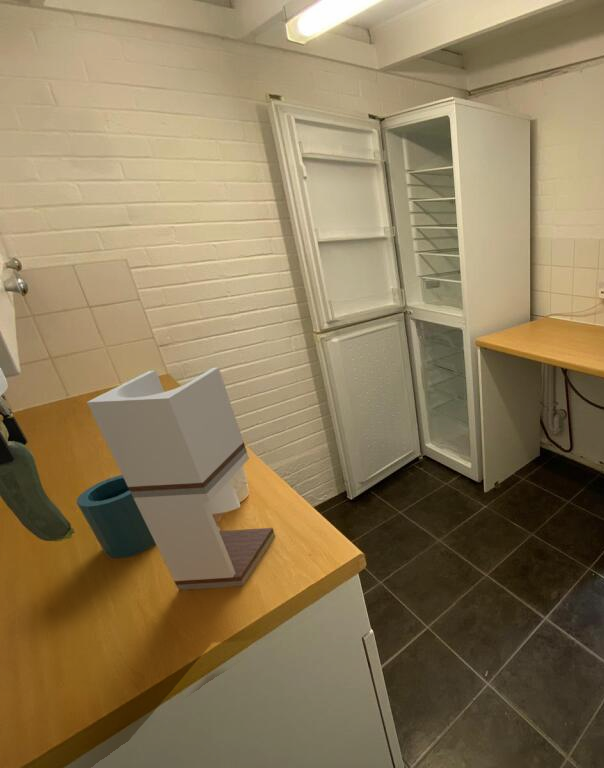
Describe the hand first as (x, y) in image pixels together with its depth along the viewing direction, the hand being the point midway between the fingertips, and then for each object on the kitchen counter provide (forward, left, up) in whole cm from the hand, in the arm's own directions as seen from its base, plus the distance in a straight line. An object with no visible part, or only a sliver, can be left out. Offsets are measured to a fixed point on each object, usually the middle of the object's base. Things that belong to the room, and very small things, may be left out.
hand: (3, 454), depth 53 cm
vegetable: (0, 0, -15) cm, 15 cm away
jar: (-1, +19, -30) cm, 36 cm away
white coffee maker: (+16, +4, -30) cm, 35 cm away
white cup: (+14, +25, -30) cm, 42 cm away
